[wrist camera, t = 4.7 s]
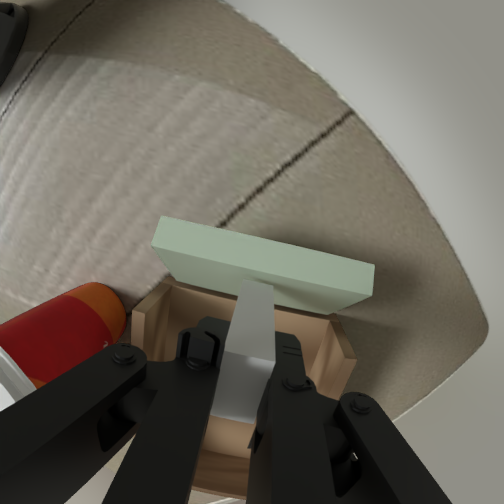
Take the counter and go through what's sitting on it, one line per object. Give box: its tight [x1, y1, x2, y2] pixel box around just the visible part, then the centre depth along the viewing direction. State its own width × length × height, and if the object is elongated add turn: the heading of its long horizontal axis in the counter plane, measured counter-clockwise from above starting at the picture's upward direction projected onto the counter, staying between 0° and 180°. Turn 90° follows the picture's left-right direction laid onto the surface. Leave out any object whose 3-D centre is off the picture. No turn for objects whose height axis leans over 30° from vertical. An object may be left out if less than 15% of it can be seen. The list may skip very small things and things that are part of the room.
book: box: [151, 216, 375, 315], centre depth 17 cm, size 2×11×8 cm
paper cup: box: [0, 282, 126, 411], centre depth 16 cm, size 8×8×14 cm
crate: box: [131, 276, 357, 500], centre depth 20 cm, size 18×13×6 cm
